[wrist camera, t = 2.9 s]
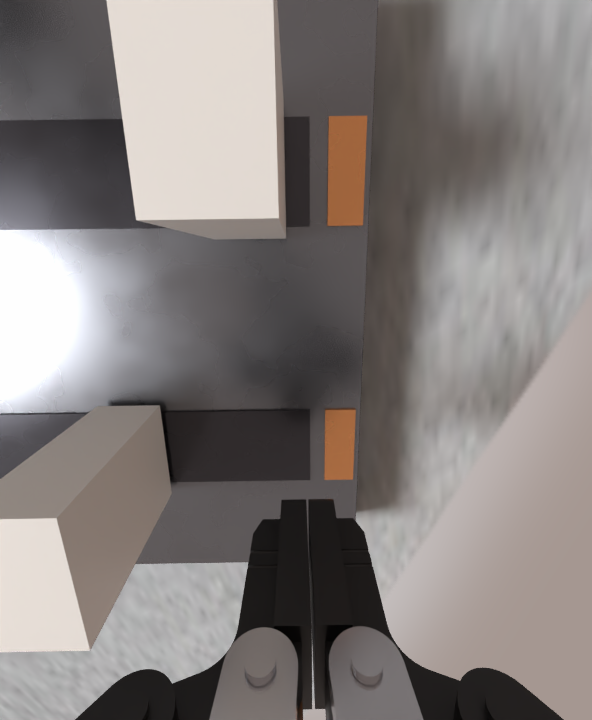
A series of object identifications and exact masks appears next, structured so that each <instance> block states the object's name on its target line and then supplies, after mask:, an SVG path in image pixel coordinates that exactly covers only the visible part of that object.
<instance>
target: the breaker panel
mask: <svg viewBox="0 0 592 720" xmlns="http://www.w3.org/2000/svg"><path fill="white" fill-rule="evenodd" d="M277 6H278V21H279V37H280V53H281V68H282V84H283V100H284V150H285V200H286V239H219V240H215V239H211V238H206V237H202V236H198V235H194V234H190V233H186V232H182V231H178V230H174V229H170V228H166V227H162V226H158V225H153V224H149V223H145V222H141V221H137V220H136V216H135V208H134V201H133V194H132V186H131V179H130V171H129V164H128V157H127V149H126V142H125V134H124V127H123V120H122V112H121V105H120V97H119V90H118V83H117V75H116V68H115V60H114V53H113V46H112V38H111V31H110V23H109V16H108V9H107V1H106V0H0V479H1V478H2V477H4V476H5V475H6V474H8V473H9V472H10V471H12V470H13V469H14V468H16V467H17V466H18V465H20V464H21V463H22V462H24V461H25V460H26V459H28V458H29V457H30V456H32V455H33V454H34V453H36V452H37V451H38V450H40V449H41V448H42V447H44V446H45V445H46V444H48V443H49V442H50V441H52V440H53V439H54V438H56V437H57V436H58V435H60V434H61V433H62V432H64V431H65V430H66V429H68V428H69V427H70V426H72V425H73V424H74V423H76V422H77V421H78V420H80V419H81V418H82V417H84V416H85V415H86V414H88V413H89V412H90V411H92V410H93V409H94V408H96V407H97V406H147V405H160V410H161V418H162V425H163V432H164V440H165V447H166V454H167V462H168V469H169V476H170V484H171V491H172V494H171V496H170V498H169V500H168V502H167V504H166V506H165V508H164V509H163V511H162V513H161V515H160V517H159V519H158V521H157V523H156V525H155V527H154V529H153V531H152V533H151V534H150V536H149V538H148V540H147V542H146V544H145V546H144V548H143V550H142V552H141V554H140V556H139V558H138V559H137V561H136V563H135V564H157V563H221V562H249V556H250V550H251V543H252V537H253V533H254V531H255V530H256V528H257V527H258V526H259V524H260V523H261V521H262V520H263V519H280V514H281V500H289V499H306V504H307V528H308V499H333V500H334V505H335V511H336V518H353V519H354V520H356V497H357V474H358V451H359V427H360V404H361V381H362V358H363V335H364V312H365V289H366V266H367V242H368V219H369V196H370V173H371V150H372V127H373V104H374V81H375V58H376V34H377V11H378V0H277ZM308 552H309V538H308Z"/></svg>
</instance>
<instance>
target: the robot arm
mask: <svg viewBox="0 0 592 720" xmlns="http://www.w3.org/2000/svg"><path fill="white" fill-rule="evenodd" d="M308 538H309V552H308ZM309 575H310V576H309ZM311 622H312V623H311ZM312 646H313V670H314V693H315V709H325V710H326V720H563V719H562V718H561V717H560V716H559V715H557V714H556V713H555V712H554V711H553V710H551V709H550V708H549V707H548V706H547V705H545V704H544V703H543V702H542V701H540V700H539V699H538V698H537V697H536V696H535V695H533V694H532V693H531V692H530V691H529V690H527V689H526V688H525V687H524V686H523V685H521V684H520V683H519V682H517V681H516V680H515V679H513V678H512V677H510V676H508V675H506V674H504V673H502V672H500V671H497V670H494V669H490V668H476V669H473V670H470V671H469V672H467V673H466V674H465V675H464V676H463V677H462V679H461V681H459V680H456V679H453V678H450V677H447V676H445V675H442V674H439V673H436V672H433V671H431V670H428V669H426V668H424V667H422V666H420V665H418V664H417V663H415V662H414V661H412V660H411V659H409V658H408V657H407V656H406V655H405V654H404V653H403V652H402V651H401V650H400V648H399V647H398V646H397V645H396V643H395V641H394V640H393V638H392V636H391V634H390V632H389V629H388V626H387V622H386V618H385V614H384V610H383V606H382V602H381V598H380V594H379V590H378V586H377V582H376V578H375V574H374V570H373V567H372V562H371V558H370V554H369V552H368V546H367V542H366V538H365V534H364V531H363V530H362V529H361V528H360V526H359V525H358V524H357V522H356V521H355V520H354V519H353V518H336V511H335V505H334V500H333V499H308V528H307V504H306V499H289V500H281V514H280V519H263V520H262V521H261V523H260V524H259V526H258V527H257V528H256V530H255V531H254V533H253V537H252V543H251V550H250V556H249V562H248V569H247V575H246V581H245V588H244V594H243V600H242V606H241V613H240V619H239V625H238V630H237V634H236V637H235V639H234V642H233V643H232V645H231V647H230V649H229V650H228V651H227V653H226V654H225V655H224V656H223V657H222V658H221V659H220V660H219V661H218V662H217V663H216V664H215V665H213V666H212V667H210V668H209V669H207V670H205V671H203V672H201V673H198V674H196V675H193V676H191V677H188V678H186V679H183V680H181V681H178V682H176V683H173V684H172V683H171V681H170V680H169V678H168V677H167V676H166V675H165V674H163V673H161V672H160V671H157V670H151V669H145V670H139V671H136V672H133V673H131V674H129V675H127V676H125V677H123V678H122V679H120V680H119V681H117V682H116V683H115V684H114V685H112V686H111V687H110V688H109V689H108V690H107V691H106V692H105V693H104V694H103V695H101V696H100V697H99V698H98V699H97V700H96V701H95V702H94V703H93V704H92V705H91V706H90V707H88V708H87V709H86V710H85V711H84V712H83V713H82V714H81V715H80V716H79V717H78V718H77V719H75V720H303V709H312Z"/></svg>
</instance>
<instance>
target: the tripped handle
mask: <svg viewBox="0 0 592 720" xmlns="http://www.w3.org/2000/svg"><path fill="white" fill-rule="evenodd" d="M171 494H172V491H171V484H170V476H169V469H168V462H167V454H166V447H165V440H164V432H163V425H162V418H161V410H160V405H147V406H97V407H96V408H94V409H93V410H92V411H90V412H89V413H88V414H86V415H85V416H84V417H82V418H81V419H80V420H78V421H77V422H76V423H74V424H73V425H72V426H70V427H69V428H68V429H66V430H65V431H64V432H62V433H61V434H60V435H58V436H57V437H56V438H54V439H53V440H52V441H50V442H49V443H48V444H46V445H45V446H44V447H42V448H41V449H40V450H38V451H37V452H36V453H34V454H33V455H32V456H30V457H29V458H28V459H26V460H25V461H24V462H22V463H21V464H20V465H18V466H17V467H16V468H14V469H13V470H12V471H10V472H9V473H8V474H6V475H5V476H4V477H2V478H1V479H0V652H36V651H90V650H91V648H92V646H93V644H94V642H95V640H96V638H97V636H98V635H99V633H100V631H101V629H102V627H103V625H104V623H105V621H106V619H107V617H108V615H109V613H110V611H111V609H112V608H113V606H114V604H115V602H116V600H117V598H118V596H119V594H120V592H121V590H122V588H123V586H124V584H125V583H126V581H127V579H128V577H129V575H130V573H131V571H132V569H133V567H134V565H135V563H136V561H137V559H138V558H139V556H140V554H141V552H142V550H143V548H144V546H145V544H146V542H147V540H148V538H149V536H150V534H151V533H152V531H153V529H154V527H155V525H156V523H157V521H158V519H159V517H160V515H161V513H162V511H163V509H164V508H165V506H166V504H167V502H168V500H169V498H170V496H171Z"/></svg>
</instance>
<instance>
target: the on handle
mask: <svg viewBox="0 0 592 720" xmlns="http://www.w3.org/2000/svg"><path fill="white" fill-rule="evenodd" d="M106 1H107V9H108V16H109V23H110V31H111V38H112V46H113V53H114V60H115V68H116V75H117V83H118V90H119V97H120V105H121V112H122V120H123V127H124V134H125V142H126V149H127V157H128V164H129V171H130V179H131V186H132V194H133V201H134V208H135V216H136V220H137V221H141V222H145V223H149V224H153V225H158V226H162V227H166V228H170V229H174V230H178V231H182V232H186V233H190V234H194V235H198V236H202V237H206V238H211V239H215V240H219V239H286V200H285V150H284V100H283V84H282V68H281V53H280V37H279V21H278V6H277V0H106Z"/></svg>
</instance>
